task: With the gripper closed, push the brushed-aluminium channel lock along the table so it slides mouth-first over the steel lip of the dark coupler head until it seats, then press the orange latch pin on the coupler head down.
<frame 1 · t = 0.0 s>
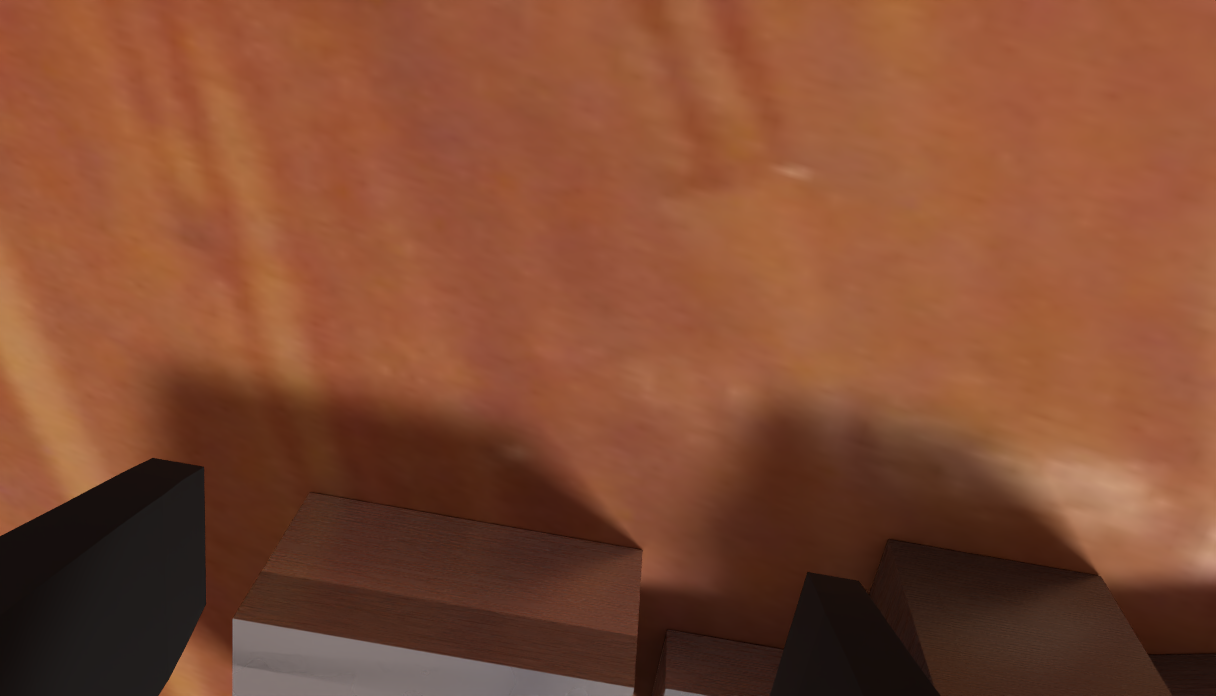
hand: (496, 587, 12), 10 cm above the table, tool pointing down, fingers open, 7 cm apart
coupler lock: (461, 634, 25), on the table
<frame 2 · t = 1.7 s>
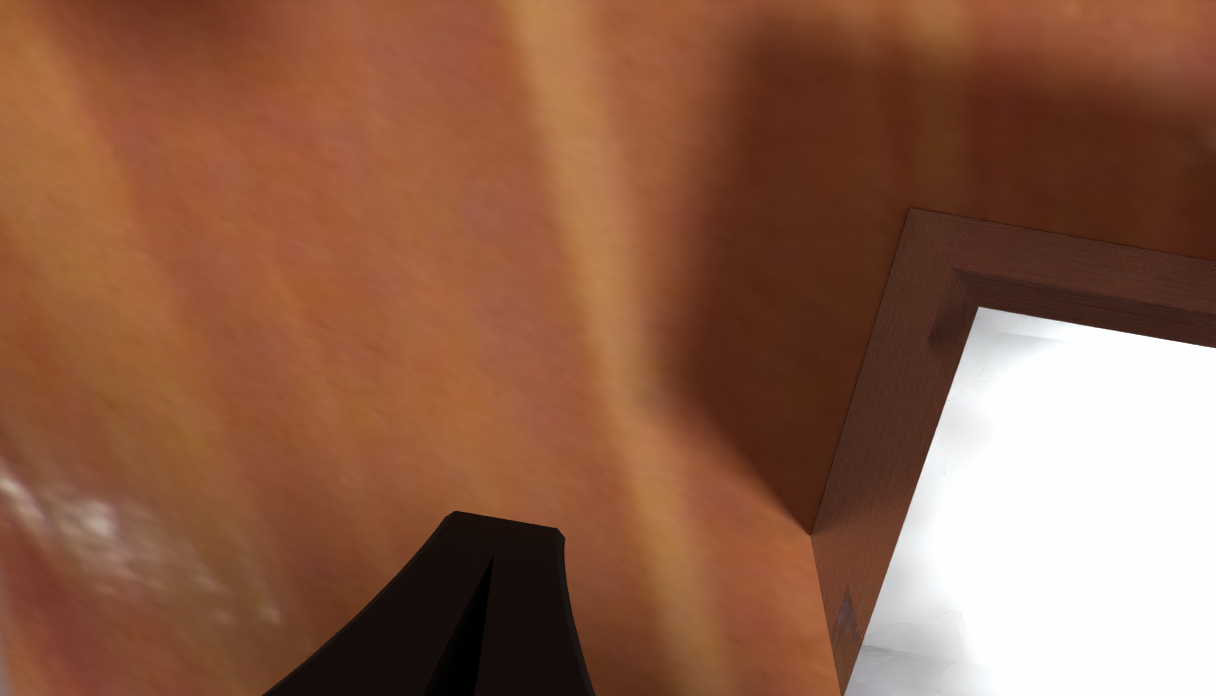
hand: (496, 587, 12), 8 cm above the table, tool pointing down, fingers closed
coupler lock: (1066, 422, 19), on the table
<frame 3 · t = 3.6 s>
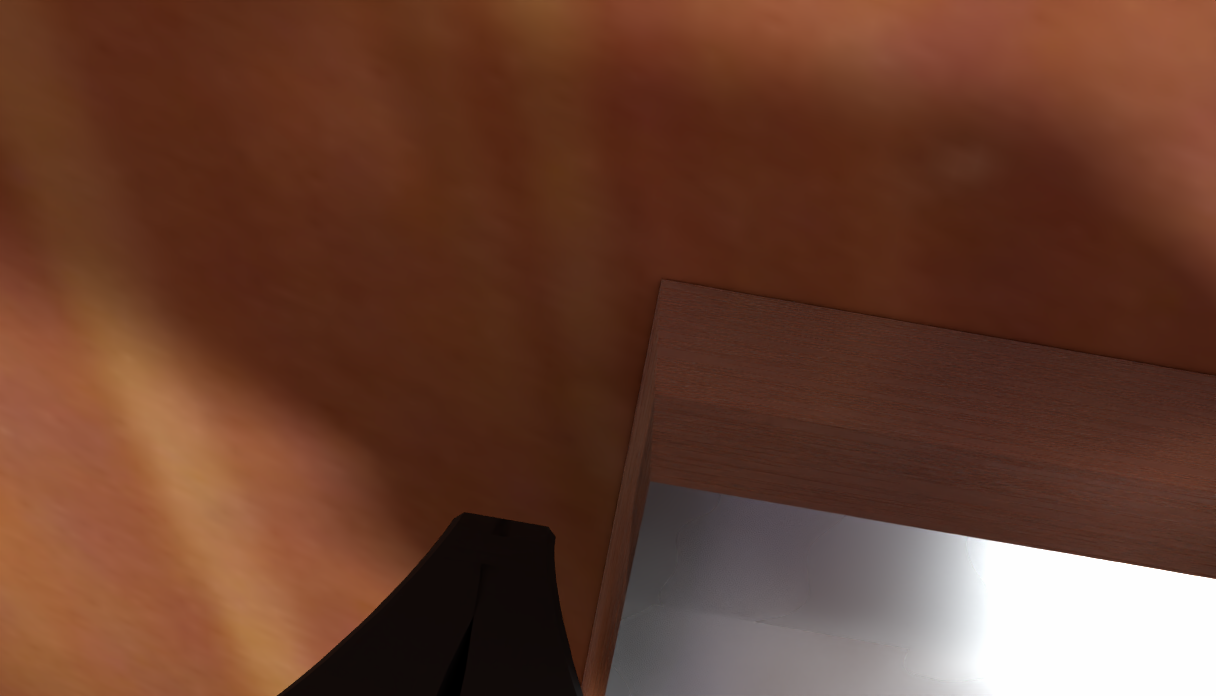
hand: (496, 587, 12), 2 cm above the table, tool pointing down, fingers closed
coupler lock: (906, 568, 14), on the table, touching gripper
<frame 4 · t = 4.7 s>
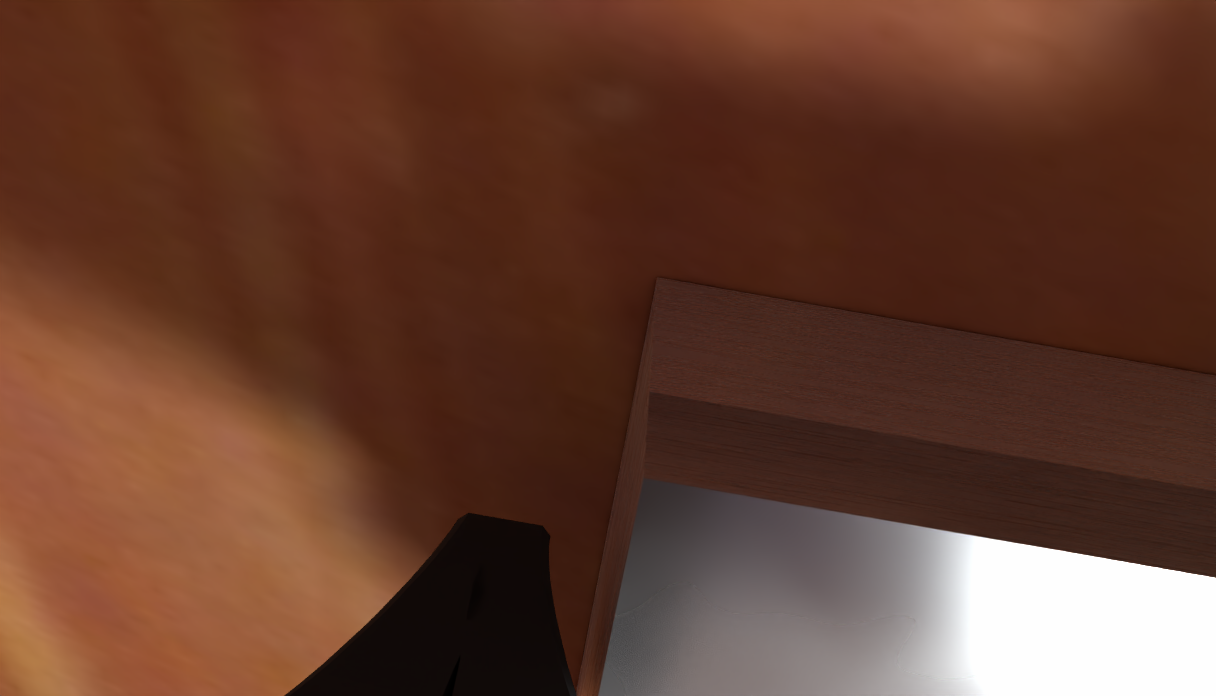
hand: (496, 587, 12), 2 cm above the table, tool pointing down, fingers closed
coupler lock: (901, 567, 14), resting in coupler, touching gripper
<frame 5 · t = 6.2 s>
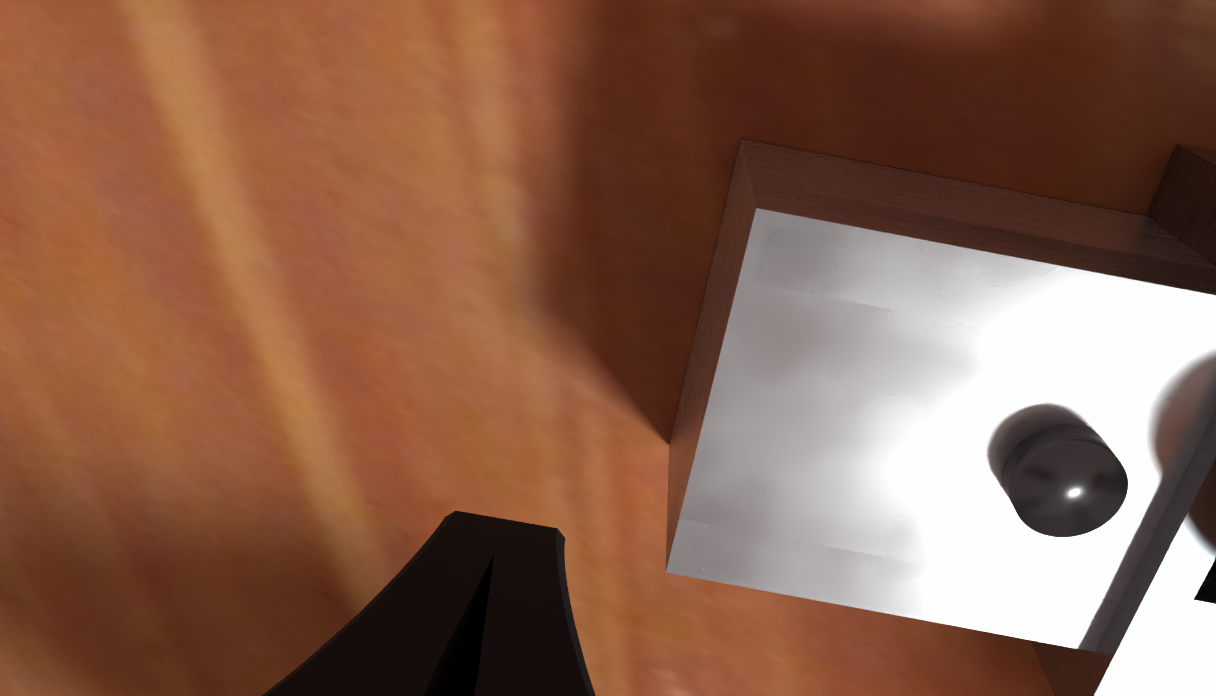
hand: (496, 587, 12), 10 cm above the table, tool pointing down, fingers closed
coupler: (1078, 377, 21), on the table
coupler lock: (891, 339, 21), resting in coupler
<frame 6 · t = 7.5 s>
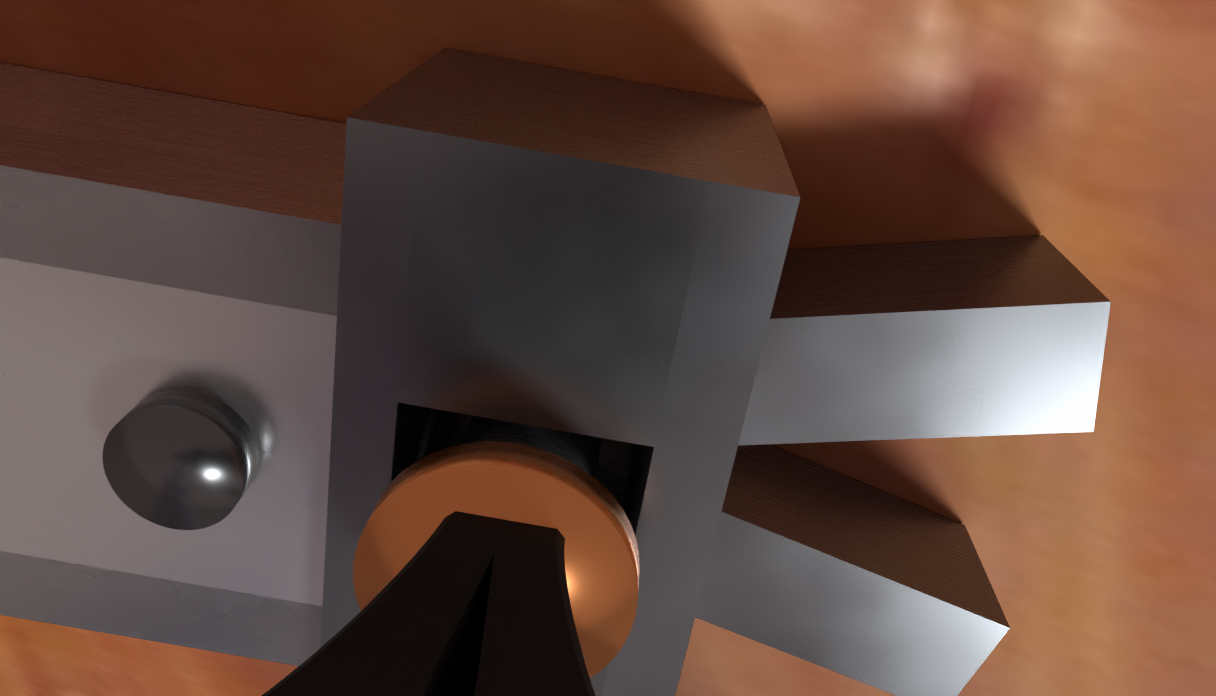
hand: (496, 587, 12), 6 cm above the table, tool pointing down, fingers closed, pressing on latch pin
coupler: (418, 340, 18), on the table
latch pin: (521, 489, 14), point 4 cm above the table, slide at 0.8 cm, touching gripper
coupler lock: (192, 296, 18), resting in coupler
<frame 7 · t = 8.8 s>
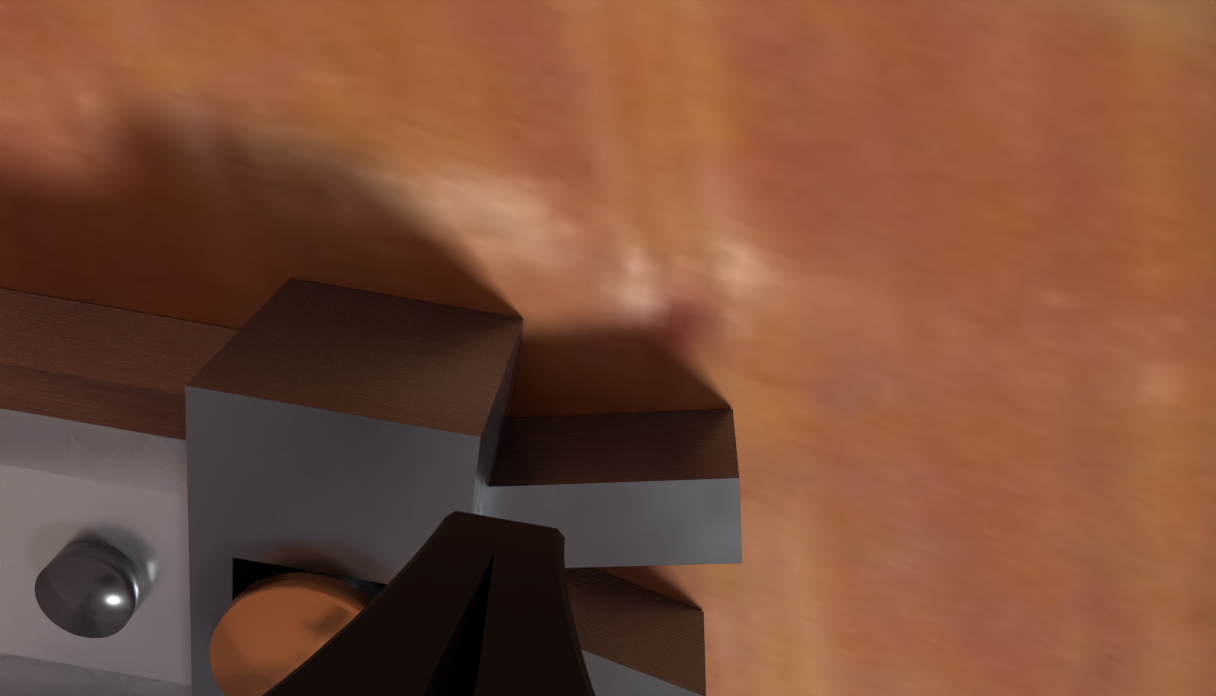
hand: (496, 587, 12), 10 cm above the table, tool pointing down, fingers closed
coupler: (285, 476, 23), on the table
latch pin: (339, 592, 20), point 4 cm above the table, slide at 1.2 cm
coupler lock: (115, 443, 23), resting in coupler
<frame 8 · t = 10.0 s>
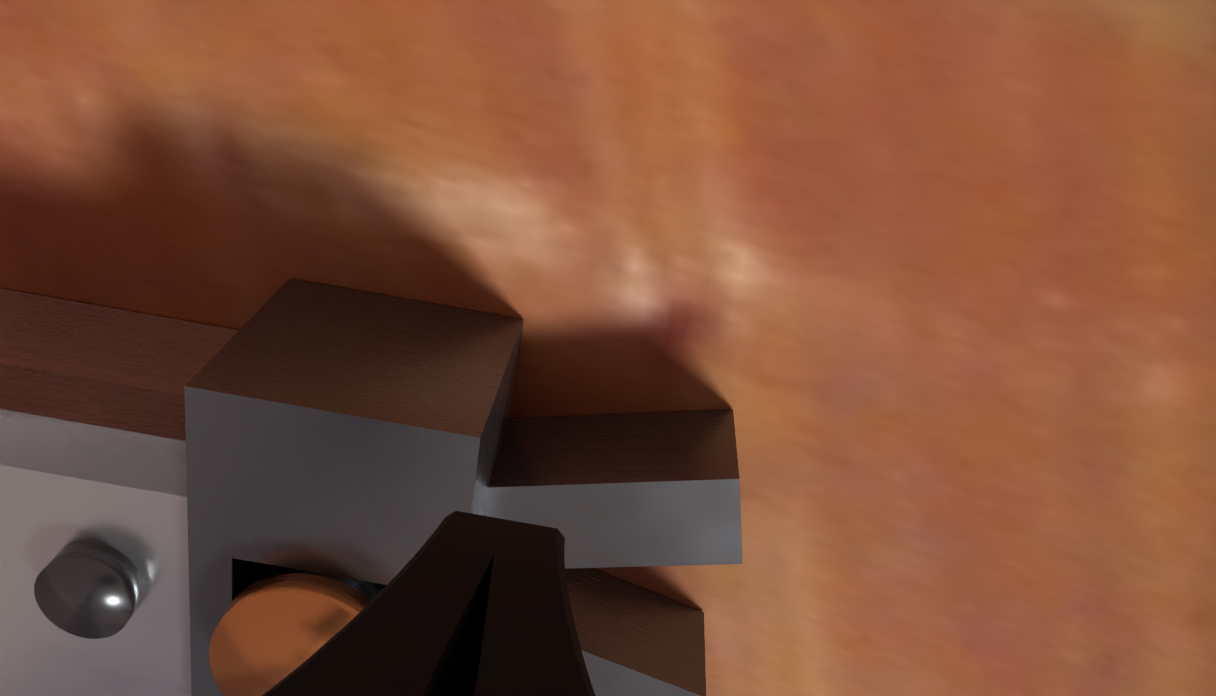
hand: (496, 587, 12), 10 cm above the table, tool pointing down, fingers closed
coupler: (285, 476, 23), on the table
latch pin: (339, 592, 20), point 4 cm above the table, slide at 1.2 cm
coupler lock: (115, 443, 23), resting in coupler
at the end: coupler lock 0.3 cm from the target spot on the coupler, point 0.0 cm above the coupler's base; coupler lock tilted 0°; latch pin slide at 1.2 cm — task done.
